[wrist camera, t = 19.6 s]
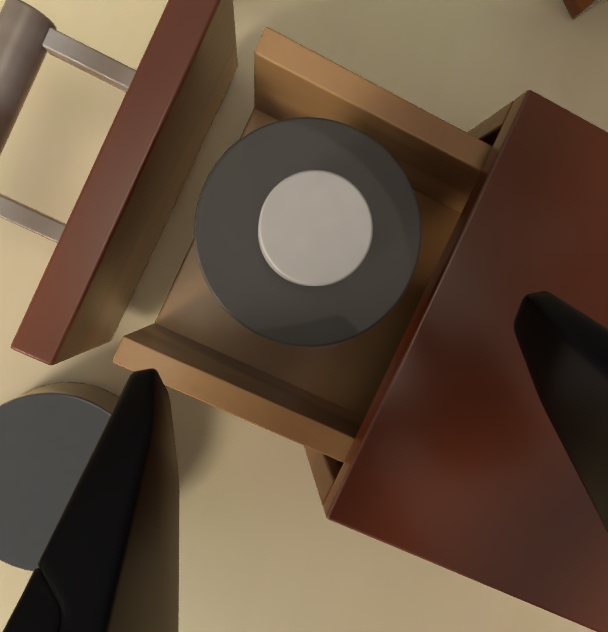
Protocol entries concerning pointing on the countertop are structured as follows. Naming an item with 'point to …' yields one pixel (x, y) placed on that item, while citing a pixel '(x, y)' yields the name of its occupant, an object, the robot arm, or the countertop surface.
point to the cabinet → (492, 382)
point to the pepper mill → (307, 232)
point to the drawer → (189, 285)
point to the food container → (579, 6)
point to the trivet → (44, 461)
